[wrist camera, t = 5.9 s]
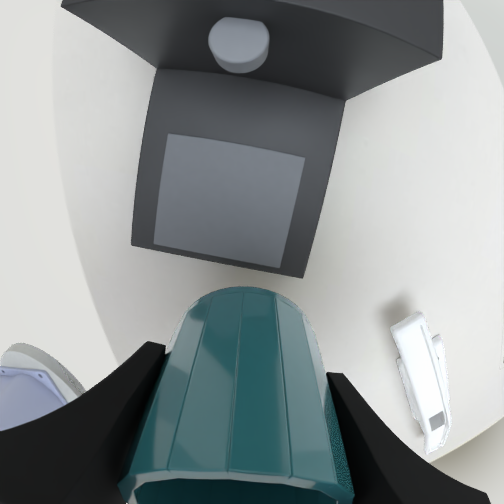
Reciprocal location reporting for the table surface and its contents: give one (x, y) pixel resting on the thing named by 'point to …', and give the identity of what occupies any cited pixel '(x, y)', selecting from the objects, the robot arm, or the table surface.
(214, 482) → the cup
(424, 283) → the table surface
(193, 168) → the coffee maker
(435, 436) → the t-shaped cleat
